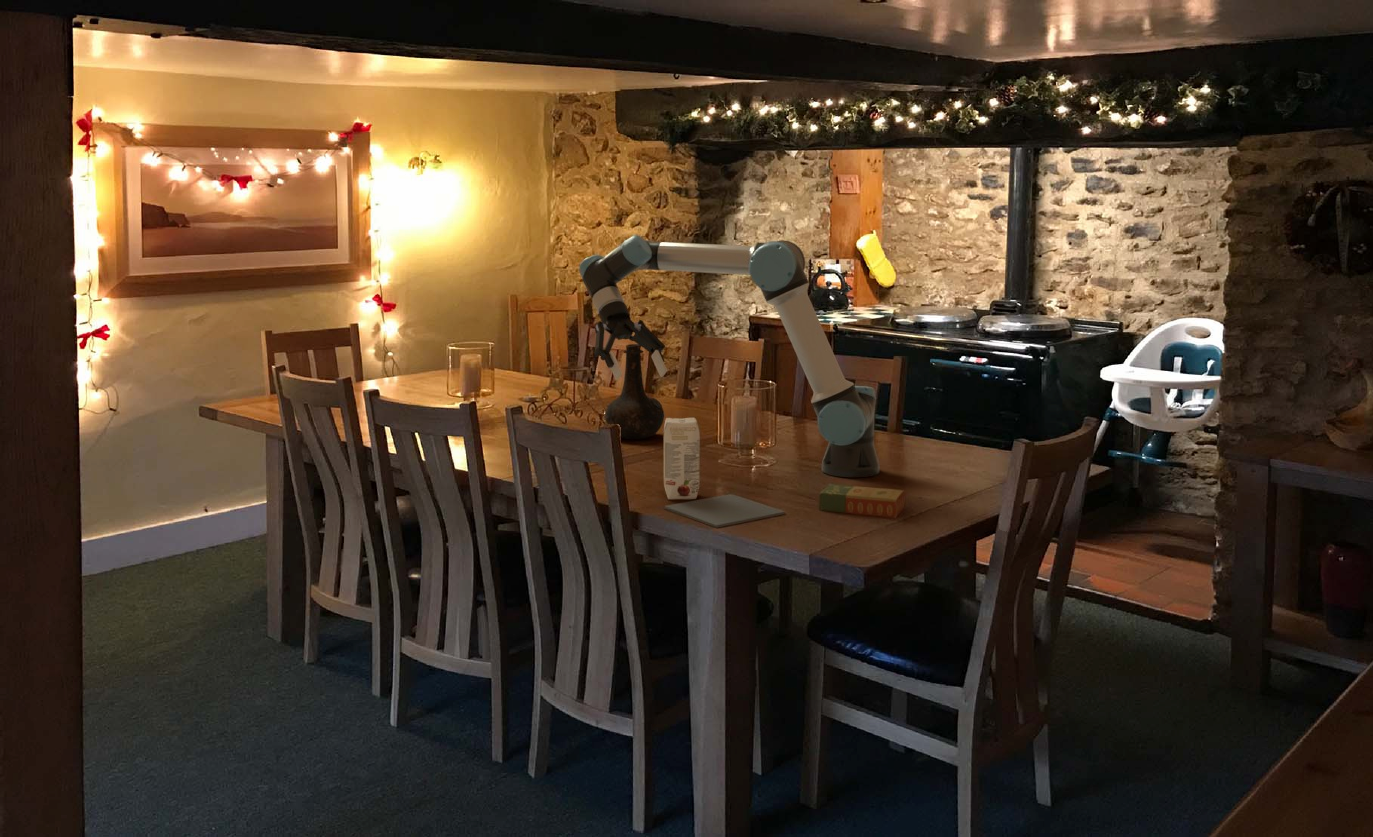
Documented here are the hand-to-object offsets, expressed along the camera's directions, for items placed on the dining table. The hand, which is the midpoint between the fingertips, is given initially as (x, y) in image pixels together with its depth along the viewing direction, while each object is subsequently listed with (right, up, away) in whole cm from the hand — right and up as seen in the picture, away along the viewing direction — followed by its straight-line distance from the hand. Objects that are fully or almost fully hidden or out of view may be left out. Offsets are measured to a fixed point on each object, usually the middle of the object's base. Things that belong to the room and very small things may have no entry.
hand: (641, 375), depth 301 cm
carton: (+52, -33, -20) cm, 65 cm away
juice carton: (+10, -30, -10) cm, 33 cm away
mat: (+20, -32, -23) cm, 45 cm away
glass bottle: (-4, -17, +61) cm, 63 cm away
